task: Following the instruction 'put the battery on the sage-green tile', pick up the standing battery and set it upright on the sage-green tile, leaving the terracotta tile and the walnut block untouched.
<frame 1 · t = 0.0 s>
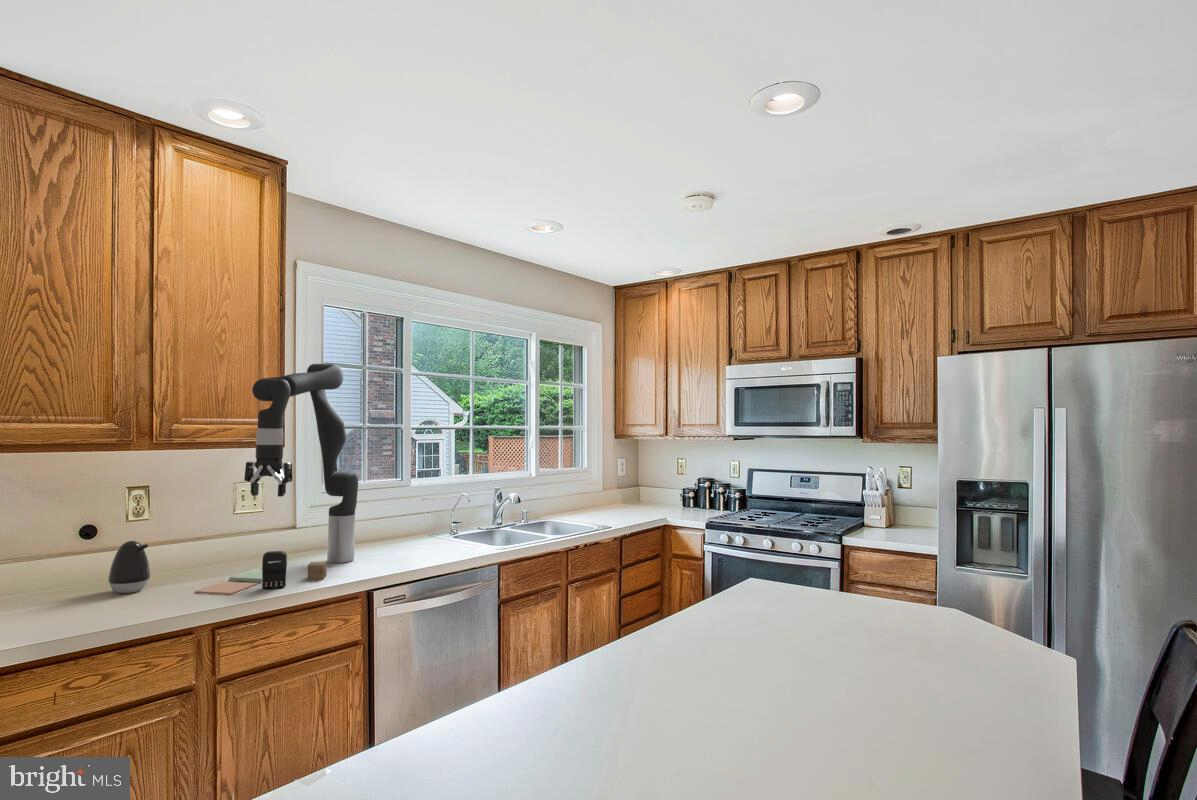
hand: (267, 495, 197), 29 cm above the counter, tool pointing down, fingers open, 8 cm apart
walnut block: (316, 578, 214), on the counter
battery: (273, 588, 200), on the counter
sage tile: (258, 577, 213), on the counter
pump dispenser: (129, 592, 193), on the counter
terracotta tile: (226, 590, 198), on the counter
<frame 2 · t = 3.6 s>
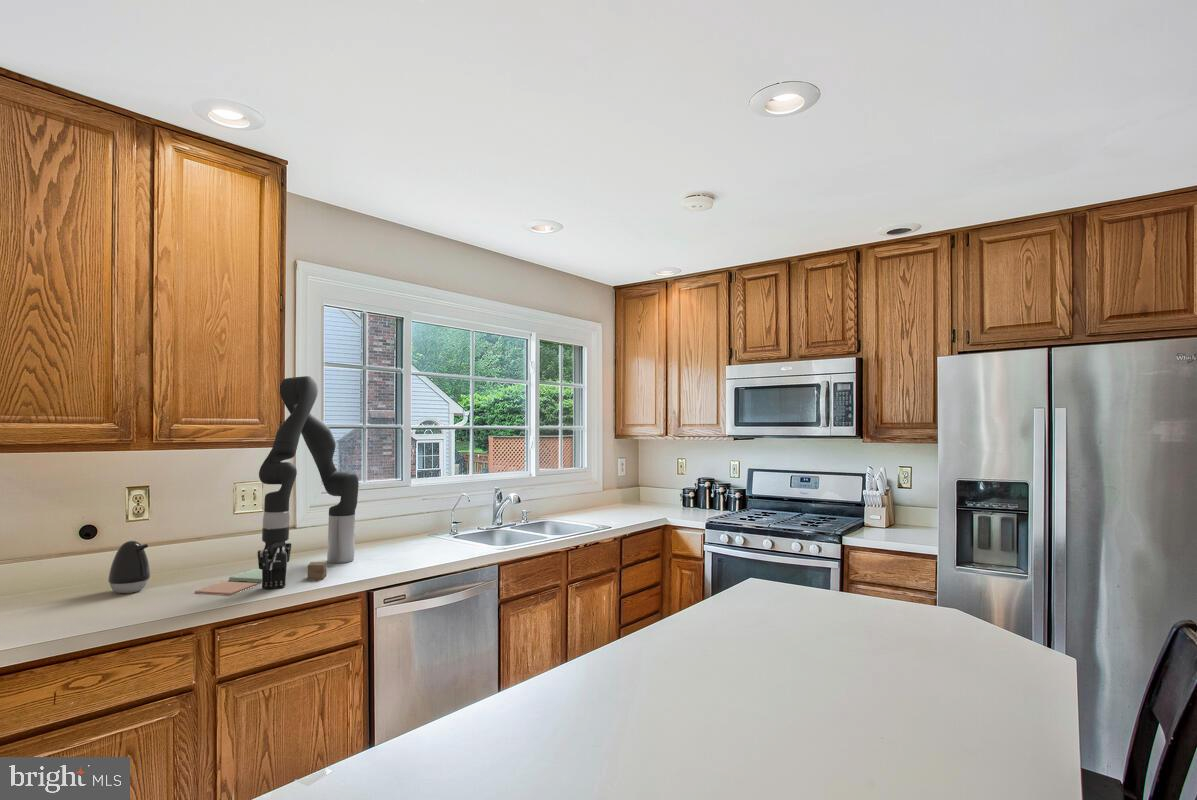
hand: (273, 579, 200), 3 cm above the counter, tool pointing down, fingers closed on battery, 5 cm apart
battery: (273, 588, 200), on the counter, touching gripper
everything else where it was.
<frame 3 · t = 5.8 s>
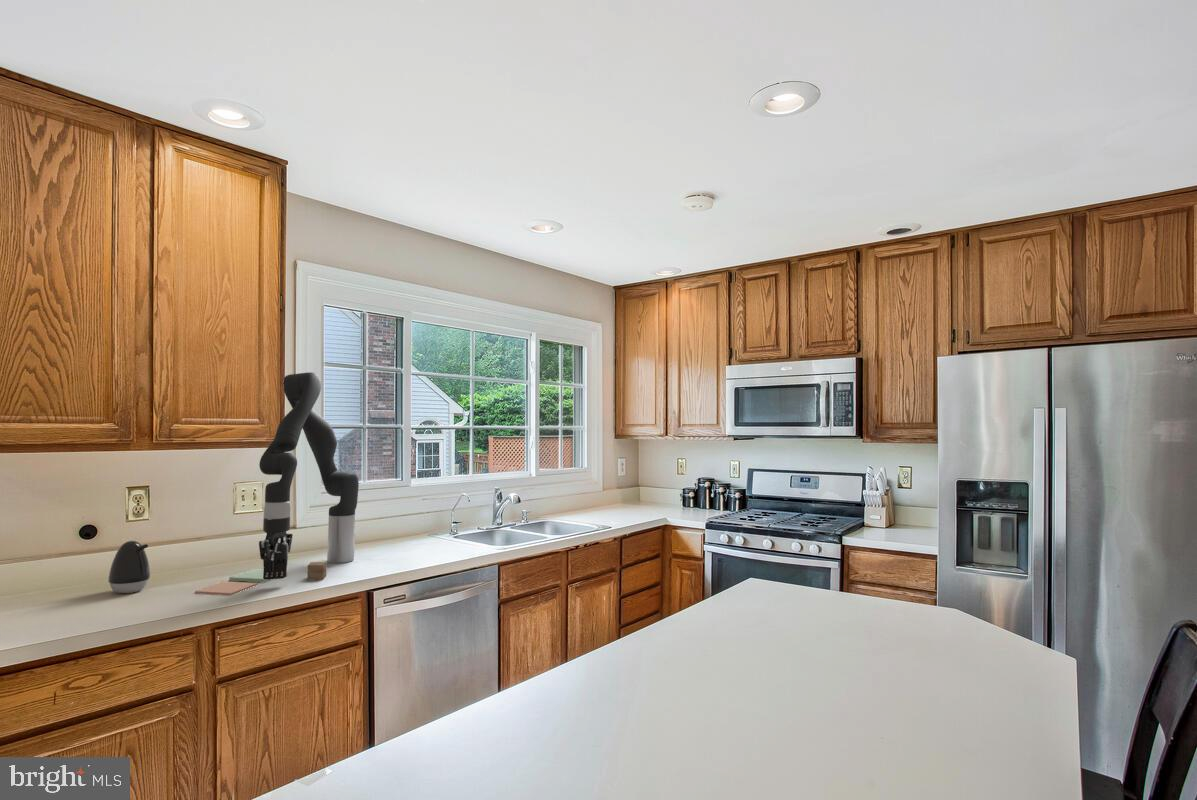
hand: (275, 569, 201), 6 cm above the counter, tool pointing down, fingers closed on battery, 5 cm apart
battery: (274, 579, 201), point 3 cm above the counter, touching gripper
everything else where it was.
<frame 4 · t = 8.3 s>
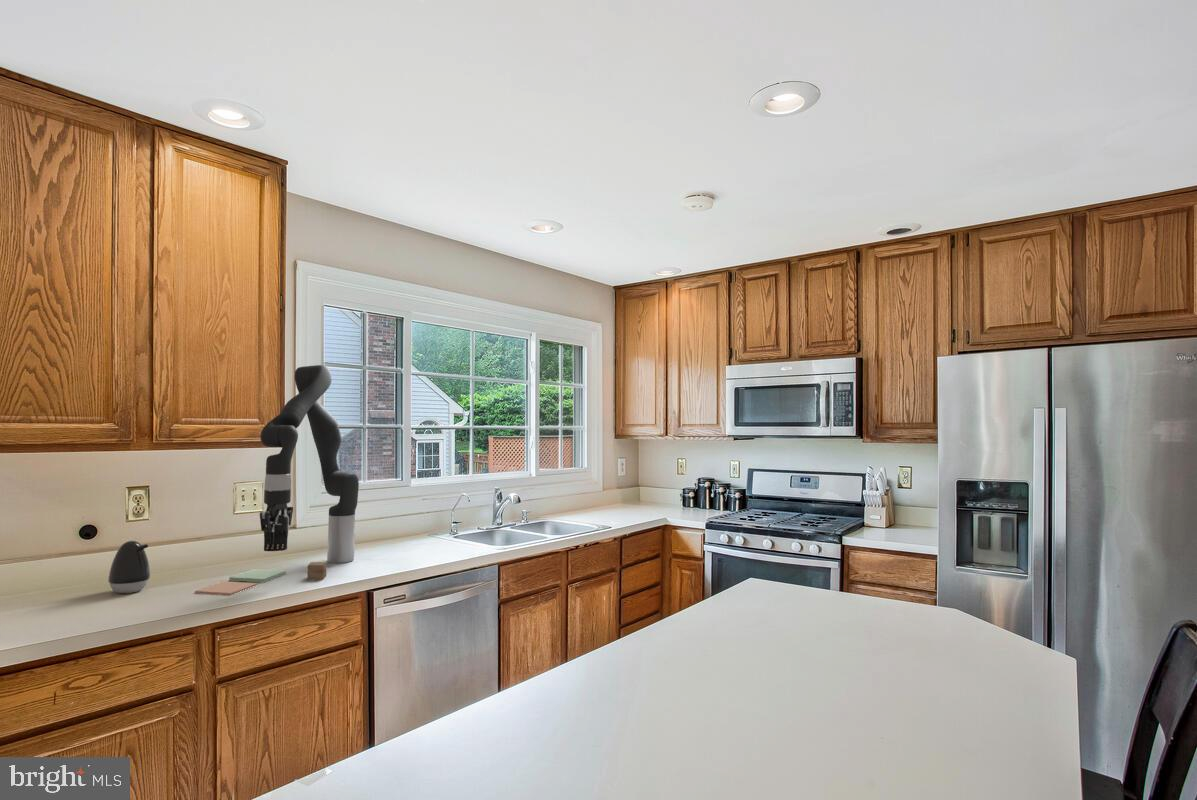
hand: (275, 542, 201), 14 cm above the counter, tool pointing down, fingers closed on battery, 5 cm apart
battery: (275, 551, 201), point 11 cm above the counter, touching gripper
everything else where it was.
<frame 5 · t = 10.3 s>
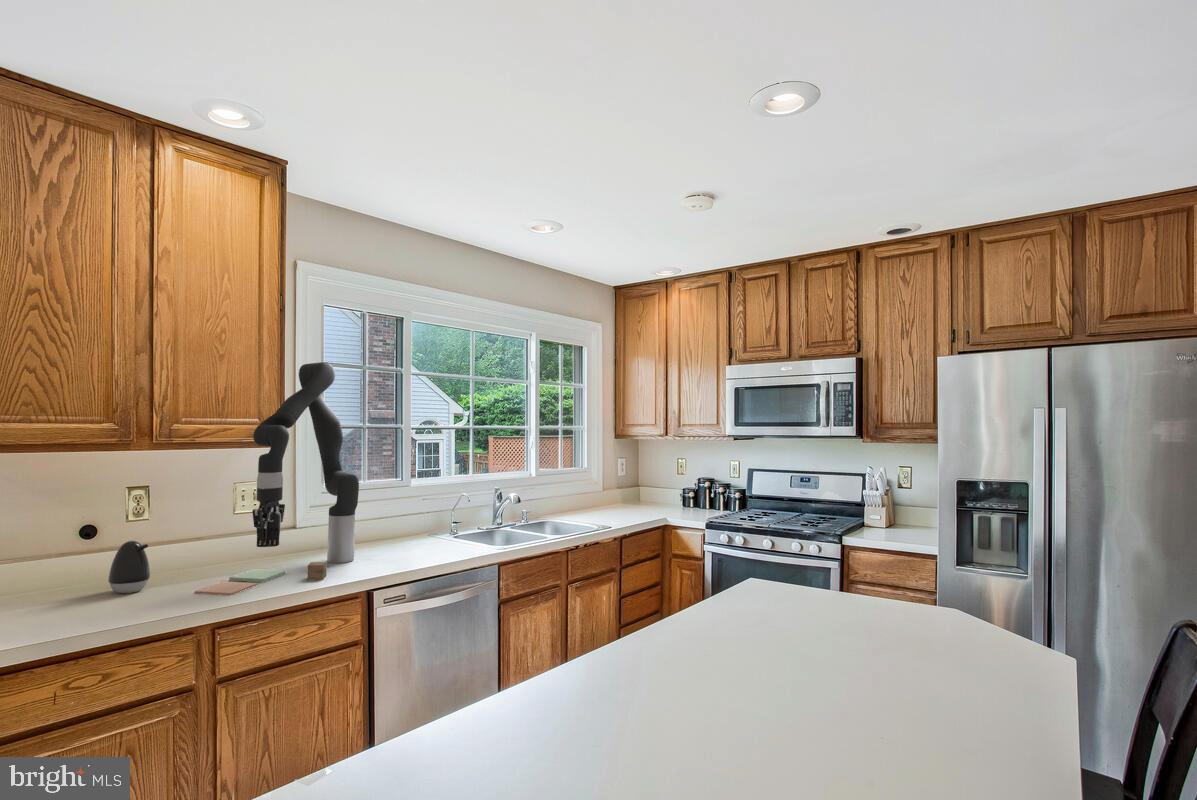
hand: (268, 538, 208), 14 cm above the counter, tool pointing down, fingers closed on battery, 5 cm apart
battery: (267, 547, 208), point 11 cm above the counter, touching gripper
everything else where it was.
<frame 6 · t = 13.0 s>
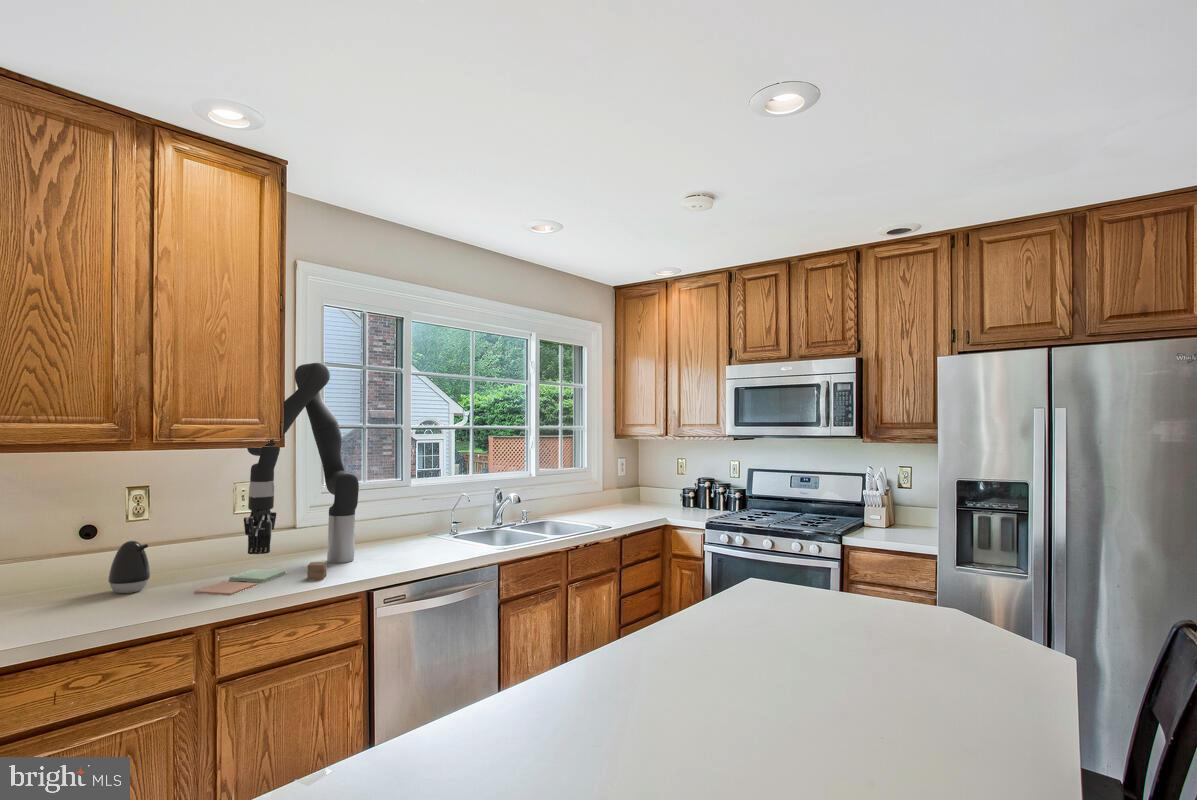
hand: (259, 545, 213), 11 cm above the counter, tool pointing down, fingers closed on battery, 5 cm apart
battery: (258, 554, 213), point 8 cm above the counter, touching gripper
everything else where it was.
when the fingers open (5 cm above the counter, at t = 15.3 s): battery stays where it is, resting on sage tile.
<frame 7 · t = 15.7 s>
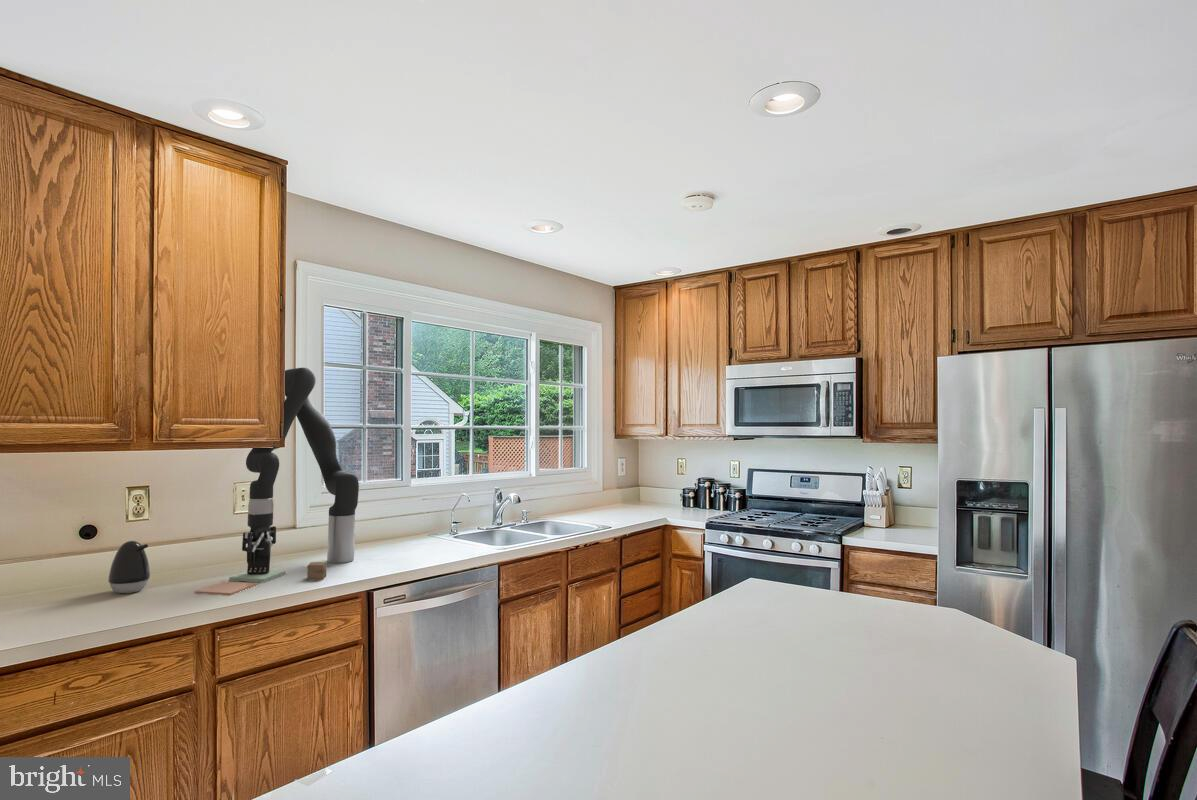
hand: (258, 560, 213), 6 cm above the counter, tool pointing down, fingers open, 8 cm apart
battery: (257, 574, 213), point 1 cm above the counter, touching sage tile
everything else where it was.
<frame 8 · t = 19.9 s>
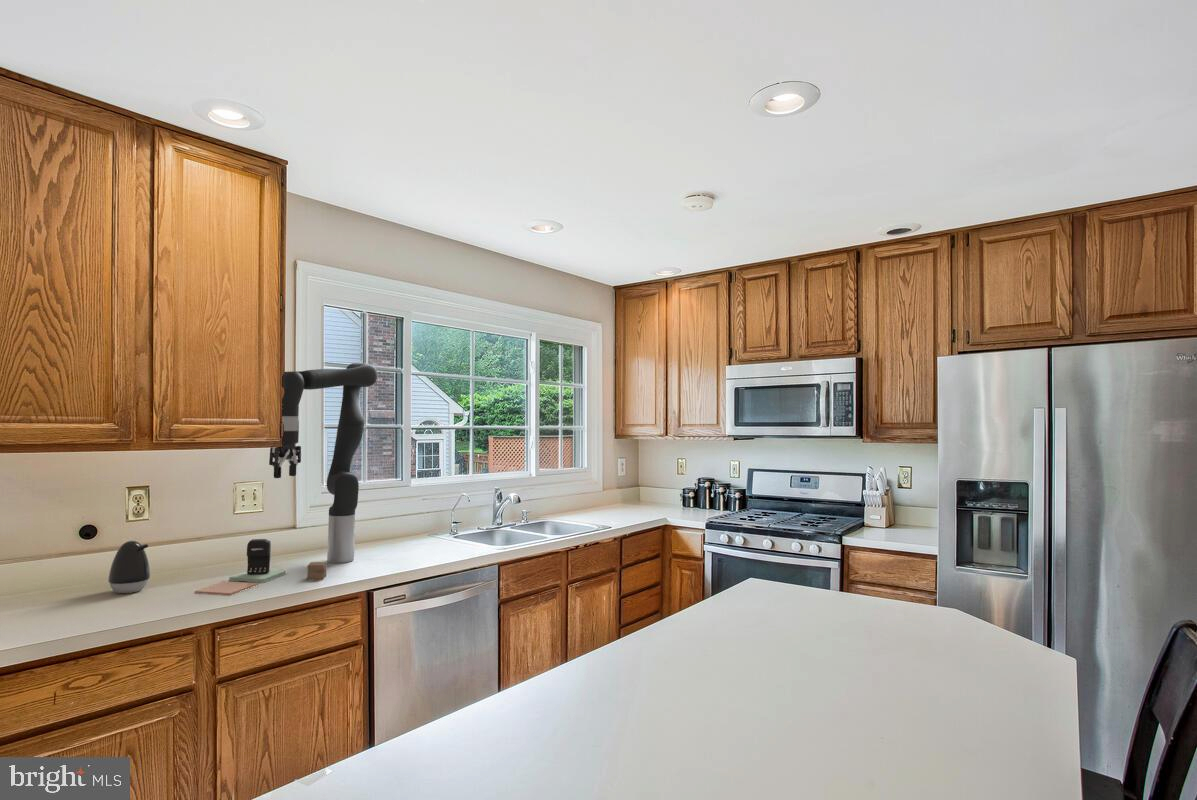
hand: (285, 477, 219), 33 cm above the counter, tool pointing down, fingers open, 8 cm apart
nothing on the counter moved.
at the end: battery inside the target area on the sage tile (0.2 cm from its centre), point 1.0 cm above the sage tile's base; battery tilted 0°; terracotta tile moved 0.6 cm from its start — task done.
